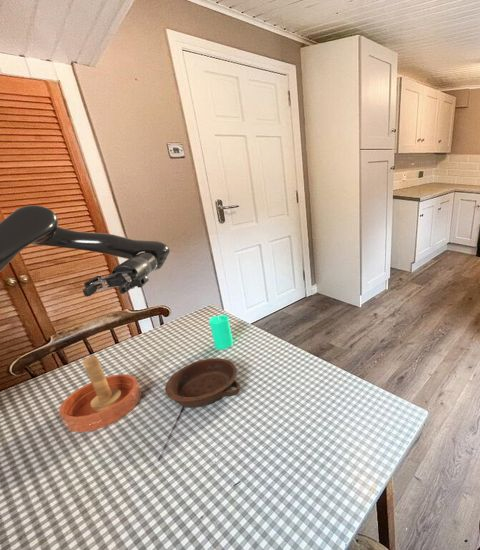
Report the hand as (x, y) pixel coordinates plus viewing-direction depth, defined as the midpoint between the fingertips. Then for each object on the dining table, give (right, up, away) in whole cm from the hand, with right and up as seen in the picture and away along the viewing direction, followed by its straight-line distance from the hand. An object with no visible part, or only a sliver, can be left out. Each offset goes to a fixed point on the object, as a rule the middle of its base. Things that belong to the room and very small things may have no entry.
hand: (103, 292), depth 83 cm
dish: (+26, -29, +4) cm, 39 cm away
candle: (+21, -20, +25) cm, 39 cm away
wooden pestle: (+3, -30, -1) cm, 30 cm away
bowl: (+3, -31, -2) cm, 31 cm away
